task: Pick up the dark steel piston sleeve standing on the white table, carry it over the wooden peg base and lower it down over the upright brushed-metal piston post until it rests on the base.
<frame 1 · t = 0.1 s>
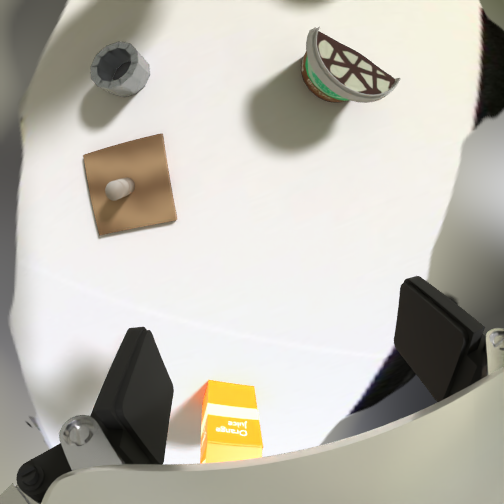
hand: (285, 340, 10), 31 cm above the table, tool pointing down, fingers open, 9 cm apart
piston sleeve: (128, 75, 32), on the table
wooden peg base: (129, 185, 37), on the table
orange juice: (227, 395, 51), on the table
food container: (324, 87, 35), on the table
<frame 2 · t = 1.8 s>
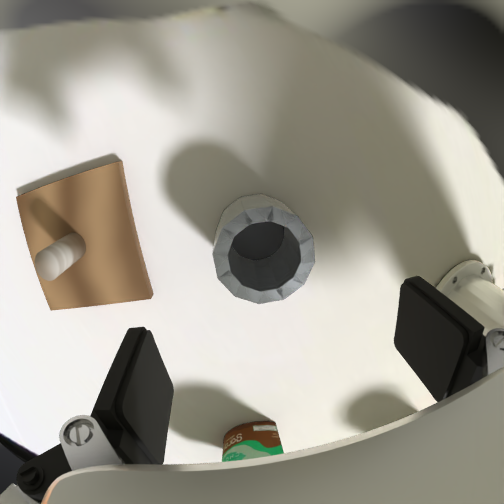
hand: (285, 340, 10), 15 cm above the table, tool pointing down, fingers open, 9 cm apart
piston sleeve: (256, 233, 24), on the table
wooden peg base: (79, 242, 23), on the table
food container: (239, 435, 33), on the table
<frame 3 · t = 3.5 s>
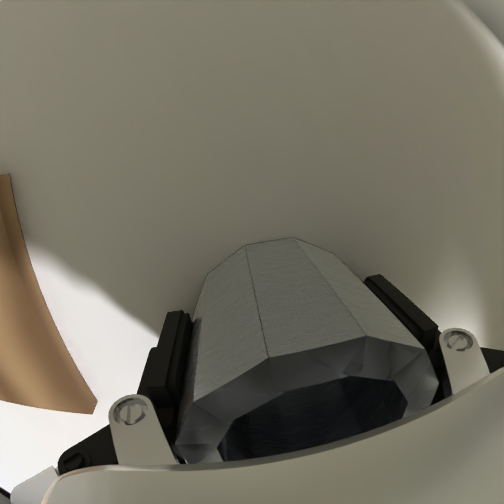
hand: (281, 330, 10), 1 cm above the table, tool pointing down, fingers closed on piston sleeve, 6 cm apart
piston sleeve: (278, 318, 11), on the table, touching gripper
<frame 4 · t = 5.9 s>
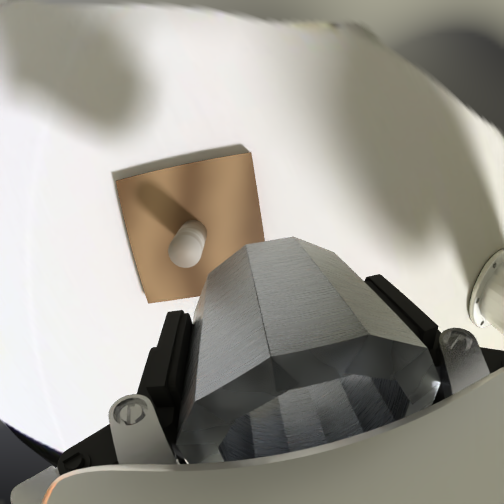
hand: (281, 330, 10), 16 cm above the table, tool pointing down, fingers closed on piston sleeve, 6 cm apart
piston sleeve: (279, 317, 11), point 16 cm above the table, touching gripper
wooden peg base: (194, 230, 26), on the table
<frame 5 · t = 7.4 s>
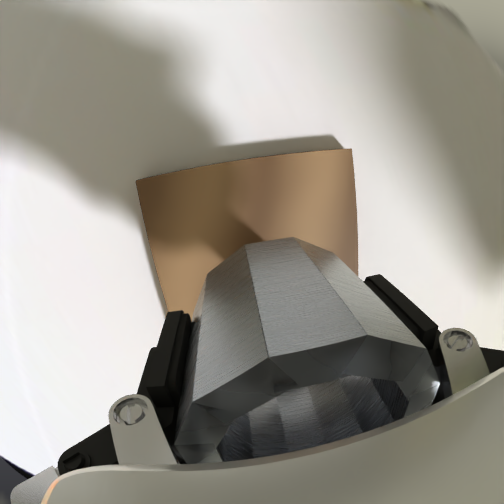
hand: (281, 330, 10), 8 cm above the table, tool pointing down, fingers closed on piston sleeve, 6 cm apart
piston sleeve: (278, 317, 11), point 7 cm above the table, touching gripper
wooden peg base: (259, 259, 17), on the table
when the fingers open (4 cm above the table, at t = 8.7 s): piston sleeve drops 2 cm, resting on wooden peg base.
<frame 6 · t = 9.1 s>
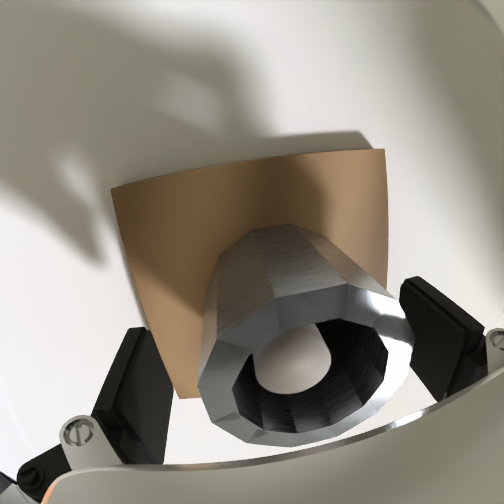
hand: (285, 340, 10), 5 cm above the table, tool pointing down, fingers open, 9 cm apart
piston sleeve: (279, 294, 13), point 1 cm above the table, touching wooden peg base
wooden peg base: (267, 286, 14), on the table
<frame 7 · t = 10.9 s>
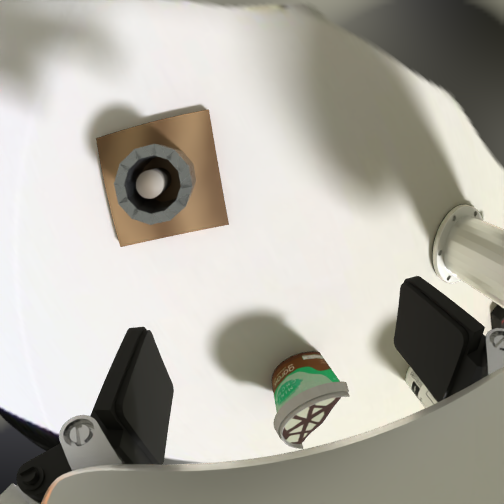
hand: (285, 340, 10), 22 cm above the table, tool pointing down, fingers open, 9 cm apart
piston sleeve: (163, 178, 27), point 1 cm above the table, touching wooden peg base
wooden peg base: (161, 178, 28), on the table
supplement can: (420, 365, 44), on the table
food container: (285, 371, 39), on the table
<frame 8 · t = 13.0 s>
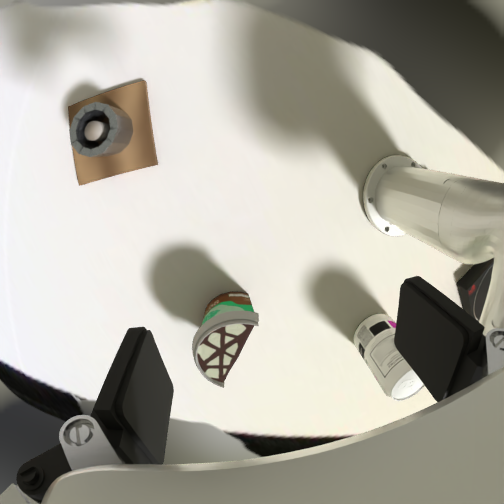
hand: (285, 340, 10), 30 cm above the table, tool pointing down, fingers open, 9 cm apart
piston sleeve: (111, 132, 32), point 1 cm above the table, touching wooden peg base
wooden peg base: (111, 133, 33), on the table
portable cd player: (484, 282, 49), on the table
supplement can: (371, 330, 48), on the table
food container: (217, 311, 44), on the table
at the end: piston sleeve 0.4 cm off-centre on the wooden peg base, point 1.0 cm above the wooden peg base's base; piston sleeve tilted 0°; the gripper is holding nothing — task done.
